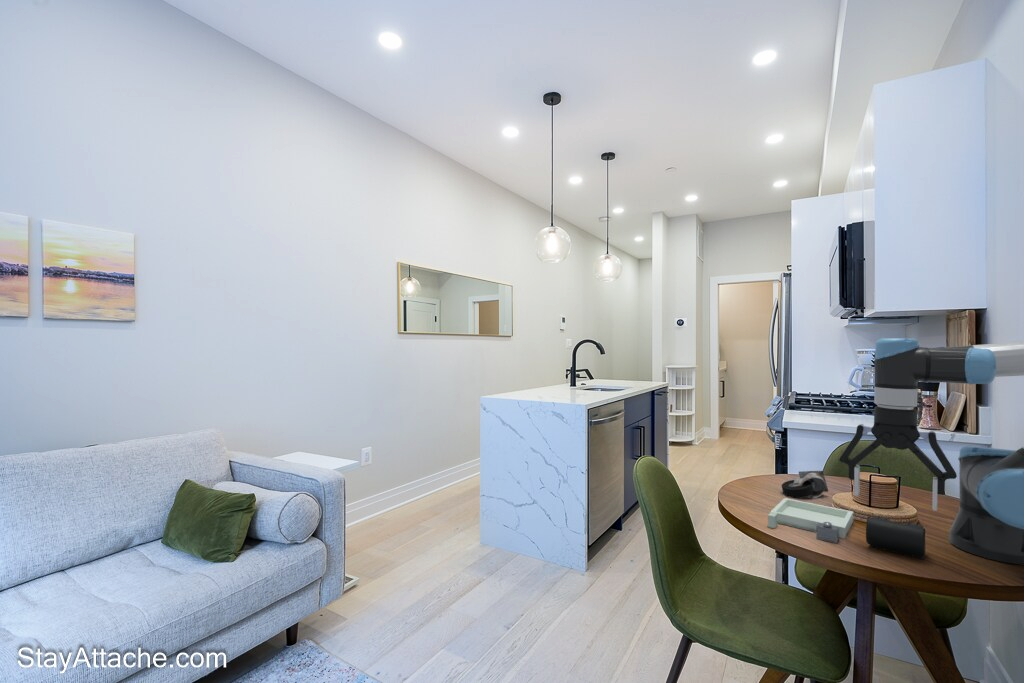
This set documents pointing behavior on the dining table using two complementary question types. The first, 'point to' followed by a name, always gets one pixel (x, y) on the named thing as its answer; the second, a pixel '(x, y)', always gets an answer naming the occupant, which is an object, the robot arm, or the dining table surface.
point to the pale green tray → (809, 516)
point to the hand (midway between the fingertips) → (894, 501)
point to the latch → (827, 532)
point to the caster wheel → (806, 485)
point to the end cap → (896, 536)
